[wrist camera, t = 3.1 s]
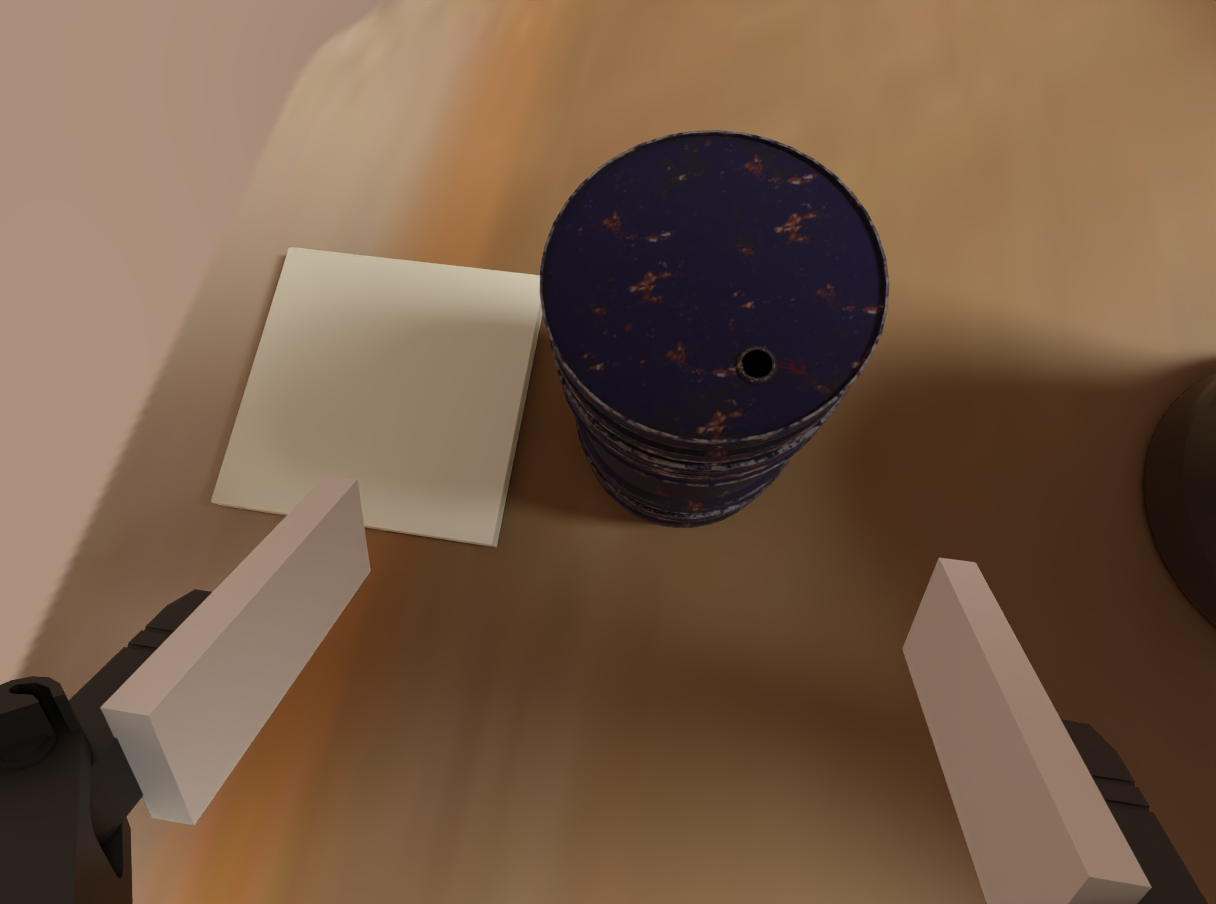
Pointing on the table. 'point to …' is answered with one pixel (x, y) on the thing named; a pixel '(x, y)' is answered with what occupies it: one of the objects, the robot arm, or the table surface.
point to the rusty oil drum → (708, 316)
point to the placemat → (388, 392)
